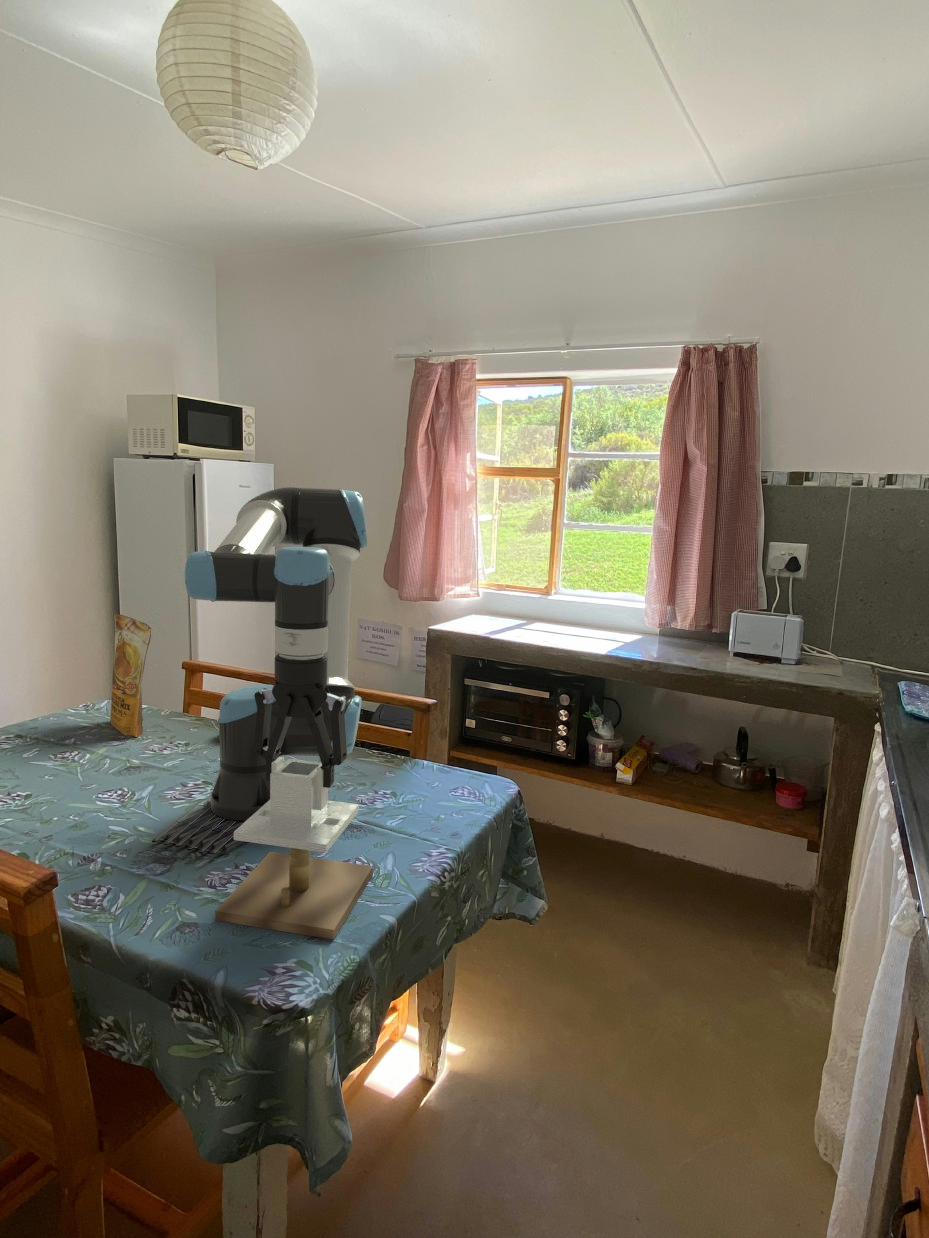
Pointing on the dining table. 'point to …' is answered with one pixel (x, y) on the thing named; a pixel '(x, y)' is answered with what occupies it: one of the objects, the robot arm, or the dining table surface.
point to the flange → (296, 812)
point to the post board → (297, 894)
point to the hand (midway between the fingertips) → (299, 803)
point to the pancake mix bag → (128, 674)
